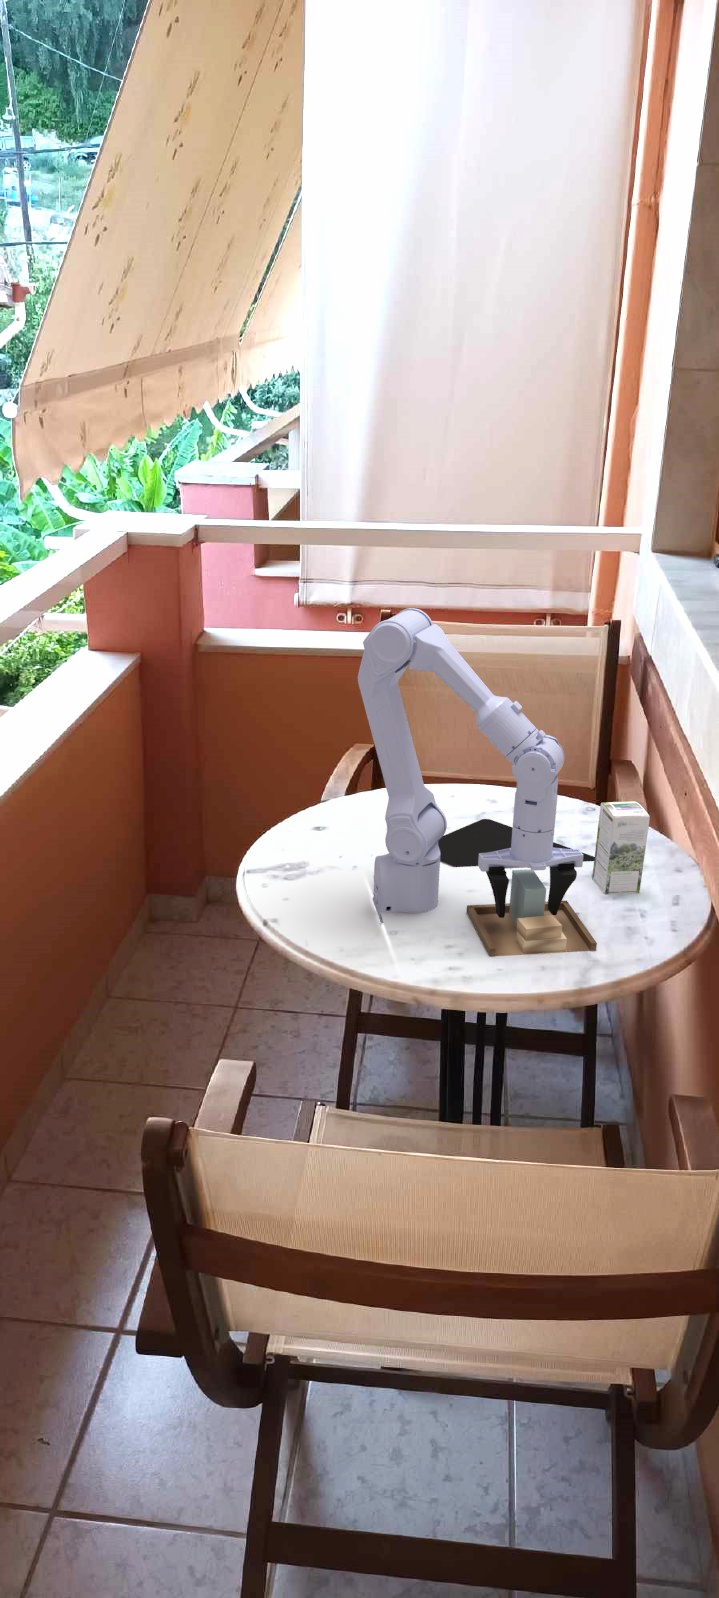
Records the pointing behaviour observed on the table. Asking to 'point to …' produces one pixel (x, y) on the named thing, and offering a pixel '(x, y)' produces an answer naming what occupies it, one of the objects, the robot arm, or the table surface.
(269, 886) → the table surface
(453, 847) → the tablet
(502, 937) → the brown wooden tray
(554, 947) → the offcut lower
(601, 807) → the syrup box
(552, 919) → the offcut upper
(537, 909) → the sage green tall block
